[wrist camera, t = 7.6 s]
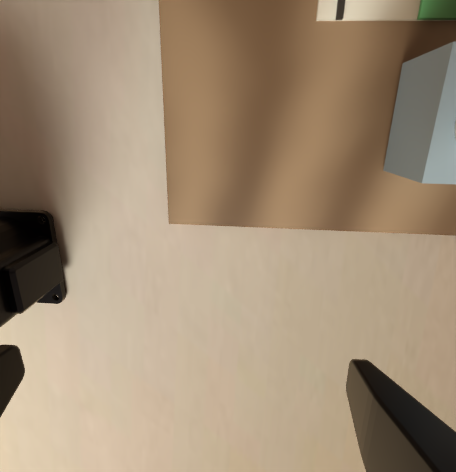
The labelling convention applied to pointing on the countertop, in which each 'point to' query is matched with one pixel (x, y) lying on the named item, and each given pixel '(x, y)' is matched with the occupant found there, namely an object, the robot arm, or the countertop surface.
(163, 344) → the countertop surface
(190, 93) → the gauge board
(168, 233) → the countertop surface
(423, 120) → the force gauge
